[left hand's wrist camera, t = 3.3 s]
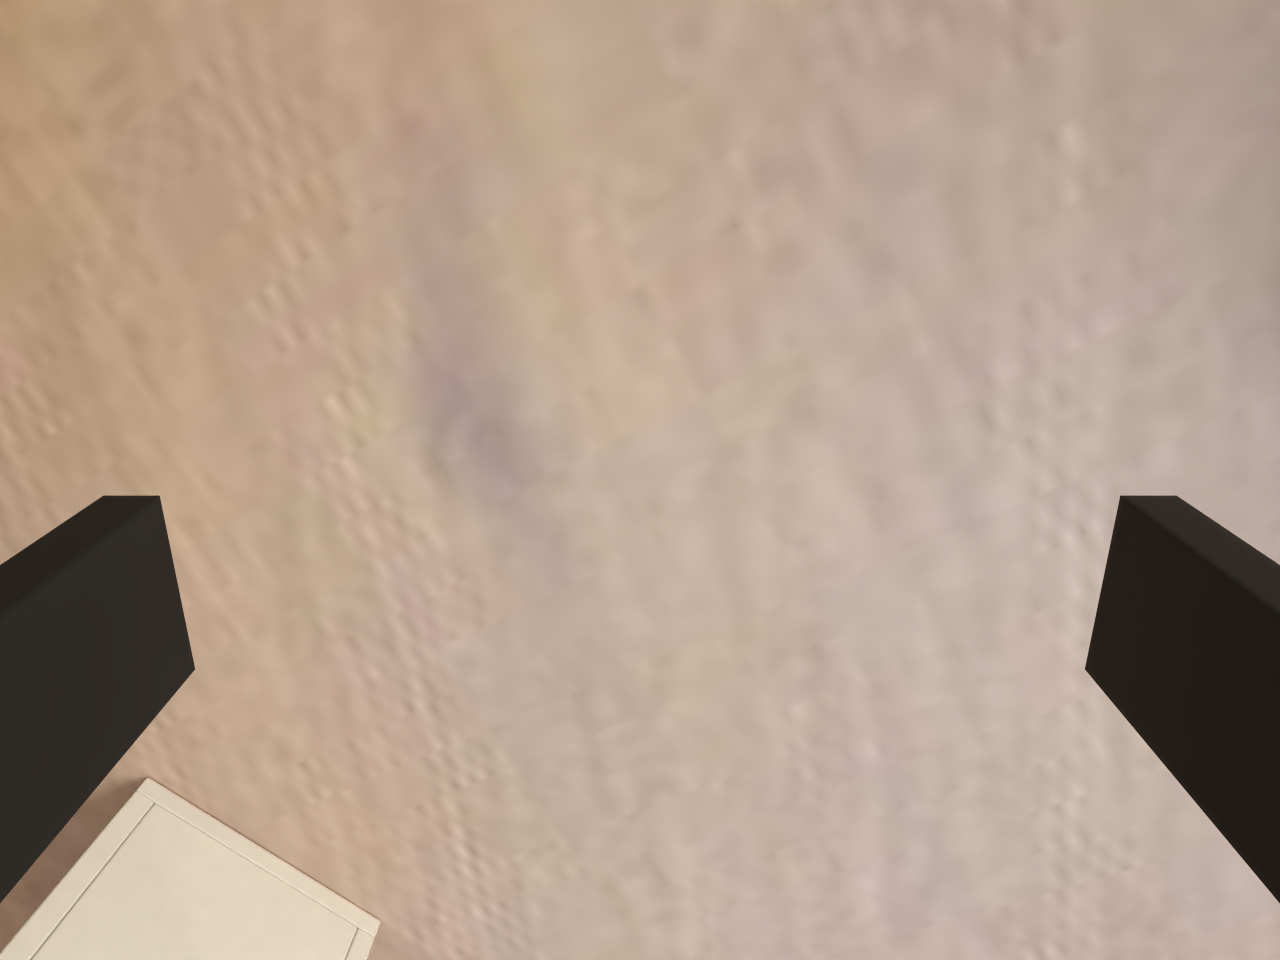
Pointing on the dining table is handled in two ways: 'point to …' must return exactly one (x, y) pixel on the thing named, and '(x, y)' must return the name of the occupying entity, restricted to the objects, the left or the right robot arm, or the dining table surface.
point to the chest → (187, 897)
